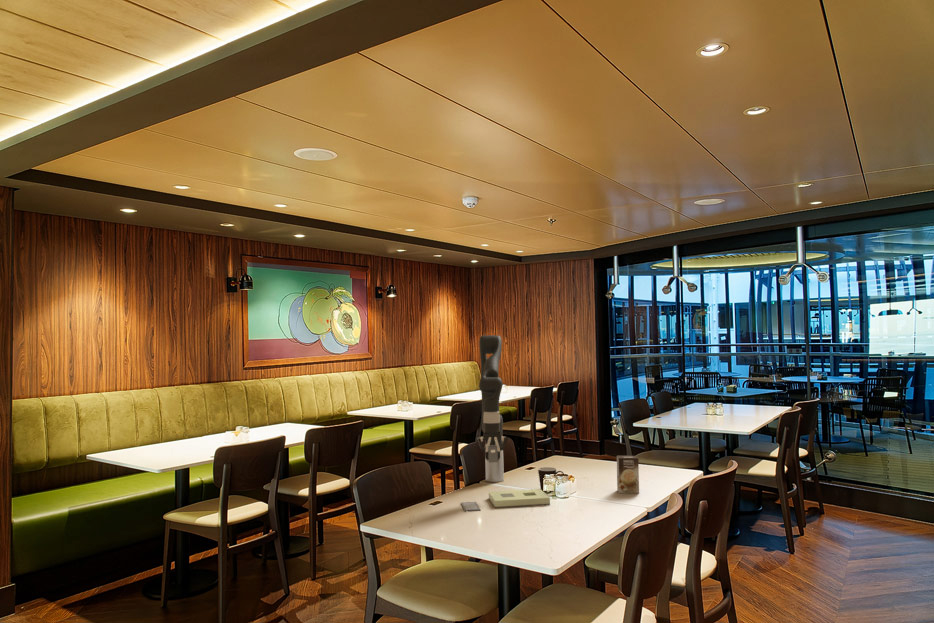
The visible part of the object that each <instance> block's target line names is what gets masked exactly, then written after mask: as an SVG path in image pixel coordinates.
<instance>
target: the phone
mask: <svg viewBox="0 0 934 623" xmlns="http://www.w3.org/2000/svg"><path fill="white" fill-rule="evenodd" d="M460 505H461V506H462V509H463V511H464V512H466V511H468V512H481V508H480V506H479V505H478V503H477V501H465V502H464V501H463V502H460Z"/></svg>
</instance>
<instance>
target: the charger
mask: <svg viewBox="0 0 934 623" xmlns="http://www.w3.org/2000/svg"><path fill="white" fill-rule="evenodd" d="M488 458H489V460H488V462H489V463H492V462H498V453H497V446H496V445H490V446H489V447H488Z"/></svg>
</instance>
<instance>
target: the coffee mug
mask: <svg viewBox="0 0 934 623" xmlns="http://www.w3.org/2000/svg"><path fill="white" fill-rule="evenodd" d="M537 471H538V472H537V473H538V478H539V485H540V489H541V490H542V491H543V478H544V475H545V474H557V475H558V474H559V473H561V474H562V476H563V475H564V476H565V474H564V472H563V471H562V470H558V471H557V468H556V467H550V466H544V467H543V466H542V467H539V468H537Z"/></svg>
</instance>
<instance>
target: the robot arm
mask: <svg viewBox="0 0 934 623" xmlns="http://www.w3.org/2000/svg"><path fill="white" fill-rule="evenodd" d="M478 343H479V346H478V348H479V355H480V379H479V383H478V387H479V390H480V393H481V430H482V432H483V435H482V436H480V437H479V436H478V437H477V438H476V439H477V442H478V445H479V448H480V450H481V451H483V452H484V458H485V459H484V460H485V461H484V462H485V463H484V464H485V466H484V467H485V481H486V482H490V483H500V482H503V481H504V480H505V476H504V472H505V471H504V467H505V466H504V450H505V447H506V443H507V441H508V440H507V439H508V437H507V436H503V434H504V432H503V430H504V429H503V428H504V421H503V420H504V419H503V416H502V414H500V397H501V392H502V391H503V390H502V389H503V384H504V383H503V380H502V378H501V377H499V373H500V372H499V369H500V359H501V356H502V355H501V354H502V350H503V349H502V346H503V345H502V343H503V341H502V338H501V336H500V335H495V334H494V335H492V334H490V335H489V334H488V335H487V334H486V335H480V336H479V341H478ZM488 355H490V356H489V357H487V356H488ZM483 440H484V441H485V442H484V445H483V443H482V442H483ZM490 445H496V446H497V453H498V462H492V463H489V462H488V460H489V458H488V447H489V446H490Z"/></svg>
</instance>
